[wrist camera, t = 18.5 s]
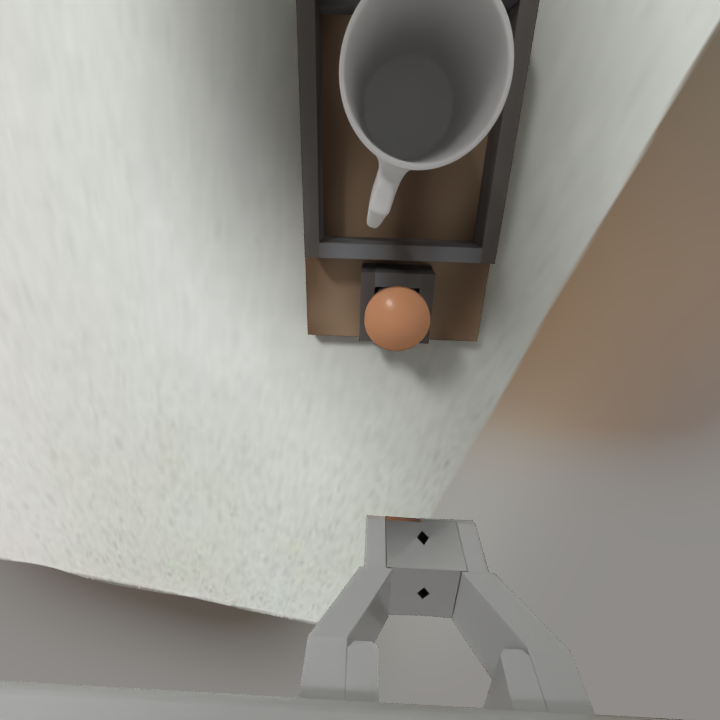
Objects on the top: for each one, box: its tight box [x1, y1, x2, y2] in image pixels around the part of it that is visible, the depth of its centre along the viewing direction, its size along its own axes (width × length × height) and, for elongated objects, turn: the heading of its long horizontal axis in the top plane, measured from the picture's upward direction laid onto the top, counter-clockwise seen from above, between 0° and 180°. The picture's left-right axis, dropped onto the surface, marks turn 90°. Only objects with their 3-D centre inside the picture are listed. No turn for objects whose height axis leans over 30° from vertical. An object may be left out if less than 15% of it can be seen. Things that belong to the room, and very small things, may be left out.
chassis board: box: [296, 0, 539, 343], centre depth 28 cm, size 14×22×4 cm, turn 178°
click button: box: [364, 286, 430, 351], centre depth 29 cm, size 4×4×5 cm
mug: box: [339, 0, 514, 228], centre depth 22 cm, size 10×7×12 cm, turn 161°
